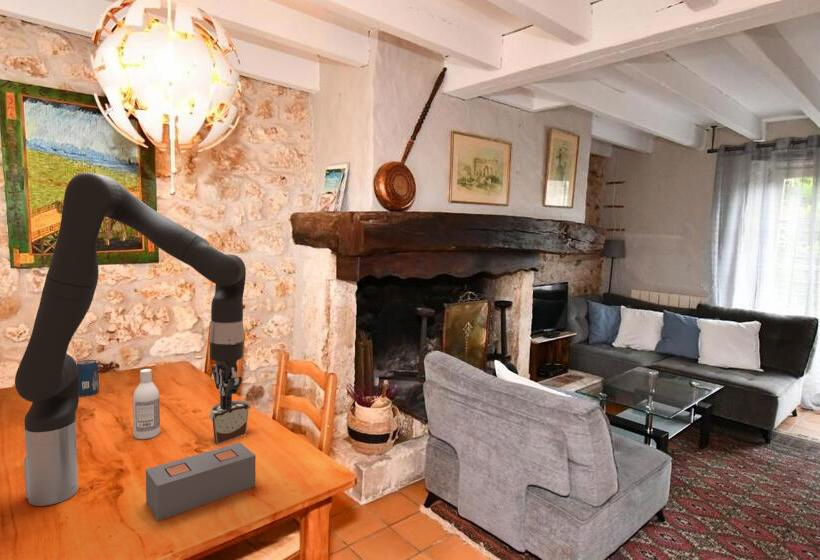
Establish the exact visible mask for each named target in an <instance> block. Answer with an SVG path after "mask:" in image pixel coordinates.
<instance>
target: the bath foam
mask: <svg viewBox="0 0 820 560" xmlns="http://www.w3.org/2000/svg"><path fill="white" fill-rule="evenodd" d="M139 374H140V379H139V380H140V382H139V384H138V386H136V389H135V390H134V393H133V396H132V416H133V417H132V420H133V421H132V424H133V428H132V429H133V437H134V438H135V439H137V440H147V439H152V438H155V437H157V436H158V435H160V433H161V399H160V398H161V397H160V390H159V389H158V388H157V386H156V384H155V383H154V382H153V378H152V376H153V375H152V374H153V373H152V369H151V368H145V369H141V370H140V371H139Z"/></svg>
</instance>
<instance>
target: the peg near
mask: <svg viewBox="0 0 820 560" xmlns="http://www.w3.org/2000/svg"><path fill="white" fill-rule="evenodd" d="M188 471H190V470H189V469H188V467H187V466H186V465H185V464H181V465H178V466H174V467H171V468H167V469H166V472H167V473H168V475H169V476H170V477H172V476H175V475H178V474H182V473H185V472H188Z"/></svg>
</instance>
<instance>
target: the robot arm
mask: <svg viewBox="0 0 820 560" xmlns="http://www.w3.org/2000/svg"><path fill="white" fill-rule="evenodd" d="M61 211H62V212H61V217H60V225H59V231H58V235H57V239H56V242H55V244H54V245H55V246H54V248H53V252H52V256H51V261H50V264H49V267H48V271H47V274H46V276H45V281H44V284H43V289H42V291H41V297H40V301H39V305H38V309H37V311H36V316H35V318H34V319H35V320H34V323H33V327H32V328H33V329H32V332H31V335H30V338H29V340H28V343H27V346H26V348H25V351H24V353H23V356H22V358H21V361H20V362H19V365H18V367H17V370H16V372H15V377H14V387H15V390H16V392H17V393H18V395H19V396H20V397H21V398H22V399H23V400H25V401H27V402H30V403H31V405H30V408H29V410H28V411H27V413H26V414H25V416H24V420H23V421H24V423H23V425H24V440H25V457H24V459H23V466H24V482H25V483H24V484H25V485H24V486H25V487H24V488H25V489H24V490H25V499H26V498H27V501H28V503H29V504H30V505H31V506H35V507H44V506H51V505H56V504H59V503H62V502H64V501H67V500H69V499H70V498H72V497H73V496H74V495H76V493H77V492H78V490H79V479H78V477H79V476H78V473H79V472H78V449H77V427H76V426H77V423H76V416H77V415H76V414H77V410H78V407H79V403H80V401H79V400H80V396H79V371H78V366H77V362H76V360H75V359H74V358H73V357H72V356H71V355H70V354H68V353H67V352H68V348H69V345H70V343H71V340H72V339H73V336H74V335H75V333H76V332H77V330H78V329H79V327H80V325H81V324H82V322H83V320H84V318H85V317H86V315H87V313H88V312H89V310H90V307H91V305H92V302H93V300H94V297H95V293H96V290H97V285H98V282H99V272H100V271H99V263H98V261H99V260H98V251H97V250H98V249H97V245H98V244H97V243H98V238H99V234H100V231H101V228H102V224H103V221H104V219H105V217H106V218H108V219H112V220H114V221H116V222H119V223H121V224H123V225H126V226H128V227H130V228H132V229H133V230H134V231H136V232H138V233H140V235H142V236H144V237H145V238H146V239H147V240H148V241H149V242H151V243H152V244H153V245H155V247H157V248H159V249H160V250H161V251H163V252H165V253H166V254H168V255H170V256H171V257H173V258H175V259H177V260H178V261H179V262H182V263H183V264H186V265H188V266H189V267H191V268H192V269H194V270H195V272H197V273H199V274H200V275H201V276H203V278H205V279H207V280H209V281H210V282H211V283H213V284H214V285H215V288H214V289H215V291H214V296H213V298H212V300H211V306H210V307H211V308H210V326H209V359H210V360H211V361H213V362H215V365H212V366H211V372H212V375H213V380H214V384H215V388H216V390H218V393H219V395H220V398H219V403H220V408H221V409H222V410H224V411H225V410H229V409H231V408H232V401H233V395H236V394H237V393H238V390H239V388H240V386H241V385H242V383H243V377H242V376H238V372H239V370H238V369H239V368H238V363H237V362H238V361H240V360H241V359H243V357H244V343H245V342H244V340H245V339H244V337H245V328H244V319H243V318H244V304H243V302H244V300H243V299H244V293H245V286H246V275H247V271H246V270H247V269H246V265H245V262H244V261H243V259H242V258H241V257H240V256H238V255H235V254H231V253H230V254H226V253H223V252H221V251H220V250H218V249H217V248H216V247H215V248H214V247H213V246H211V244H210V243H209V242H208V240H206V239H205V238H204V237H202V236H200V235H199V234H197V233H195V232H194V231H191V230H190V229H188V228H186V227H184V226H183V225H181V224H180V223H177V222H176V221H174V220H173V219H170V218H169V217H167V216H165V215H163V214H161V213H160V212H158V211H157V210H155V209H153V208H152V207H150V206H149V205H147V204H146V203H144V202H143V201H142V200H140V199H139V198H138V197H137V196H135V195H134V194H133V193H132V192H131V191H129V190H128V189H127V188H126V187H124V186H123V185H122V184H121V183H120V182H118V181H117V180H115V179H114V178H113V177H110V176H108V175H104V174H99V173H95V172H89V171H88V172H81V173H78V174H76V175H74V177H72V178H71V179H70V180H69V181H68V183H67V184H66V188H65V192H64V196H63V203H62V209H61Z"/></svg>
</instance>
